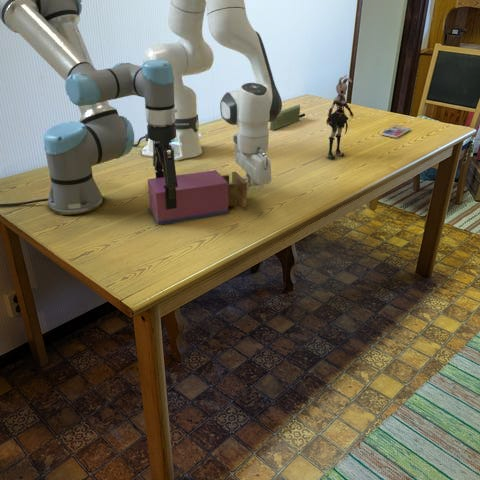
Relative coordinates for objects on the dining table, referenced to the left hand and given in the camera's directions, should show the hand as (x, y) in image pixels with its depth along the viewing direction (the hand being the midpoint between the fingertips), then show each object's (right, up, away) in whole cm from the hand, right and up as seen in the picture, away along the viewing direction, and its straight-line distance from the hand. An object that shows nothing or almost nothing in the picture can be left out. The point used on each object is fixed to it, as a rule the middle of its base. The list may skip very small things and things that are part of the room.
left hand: (166, 200), depth 143 cm
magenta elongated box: (+6, -3, +4) cm, 8 cm away
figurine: (+56, +20, +46) cm, 75 cm away
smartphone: (+87, +34, +72) cm, 118 cm away
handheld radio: (+42, +40, +82) cm, 101 cm away
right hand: (+24, +4, +8) cm, 26 cm away
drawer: (+15, 0, +7) cm, 16 cm away
